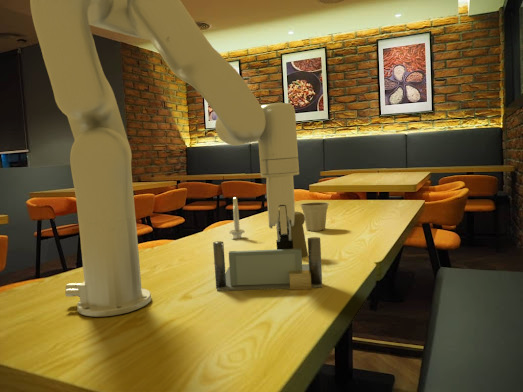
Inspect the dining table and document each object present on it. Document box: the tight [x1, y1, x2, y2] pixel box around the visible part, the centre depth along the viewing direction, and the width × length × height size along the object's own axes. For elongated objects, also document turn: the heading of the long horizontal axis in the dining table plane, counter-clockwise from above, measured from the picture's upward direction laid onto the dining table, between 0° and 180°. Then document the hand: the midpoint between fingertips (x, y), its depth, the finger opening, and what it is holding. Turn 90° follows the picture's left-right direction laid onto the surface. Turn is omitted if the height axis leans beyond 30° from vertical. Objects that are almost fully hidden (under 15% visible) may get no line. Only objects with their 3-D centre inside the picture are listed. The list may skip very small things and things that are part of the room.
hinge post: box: [212, 240, 226, 289], centre depth 83 cm, size 2×2×9 cm
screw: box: [229, 196, 245, 240], centre depth 132 cm, size 13×5×5 cm
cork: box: [291, 211, 308, 259], centre depth 105 cm, size 6×6×11 cm
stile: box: [289, 236, 323, 291], centre depth 81 cm, size 6×4×9 cm, turn 86°
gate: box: [228, 248, 303, 286], centre depth 82 cm, size 14×1×6 cm, turn 86°
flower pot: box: [300, 201, 330, 232], centre depth 140 cm, size 9×9×9 cm
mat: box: [216, 263, 323, 292], centre depth 88 cm, size 20×16×1 cm
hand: (285, 259), depth 84 cm, fingers closed
